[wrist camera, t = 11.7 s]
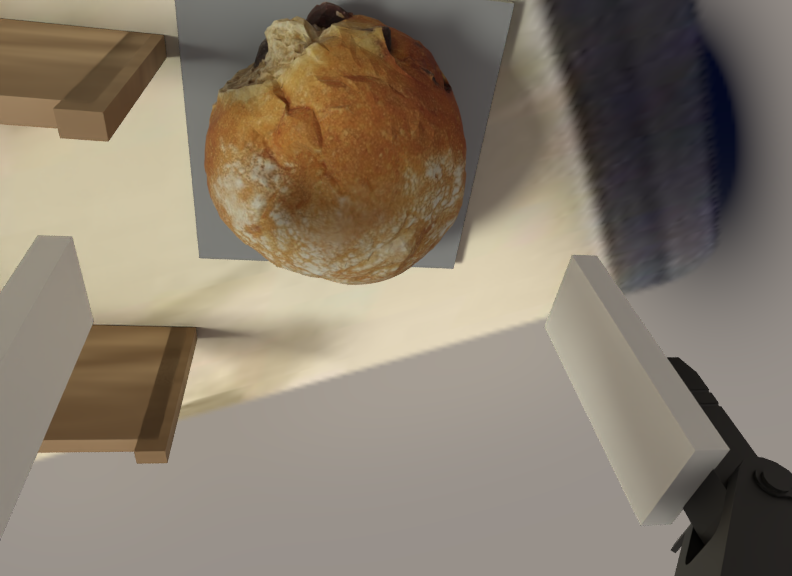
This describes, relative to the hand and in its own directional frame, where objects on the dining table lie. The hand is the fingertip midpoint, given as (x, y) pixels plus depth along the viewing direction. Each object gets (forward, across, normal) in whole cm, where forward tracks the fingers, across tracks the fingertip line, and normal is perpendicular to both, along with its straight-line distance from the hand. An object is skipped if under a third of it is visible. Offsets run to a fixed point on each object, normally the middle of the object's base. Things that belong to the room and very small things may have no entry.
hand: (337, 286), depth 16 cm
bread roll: (+10, 0, 0) cm, 10 cm away
